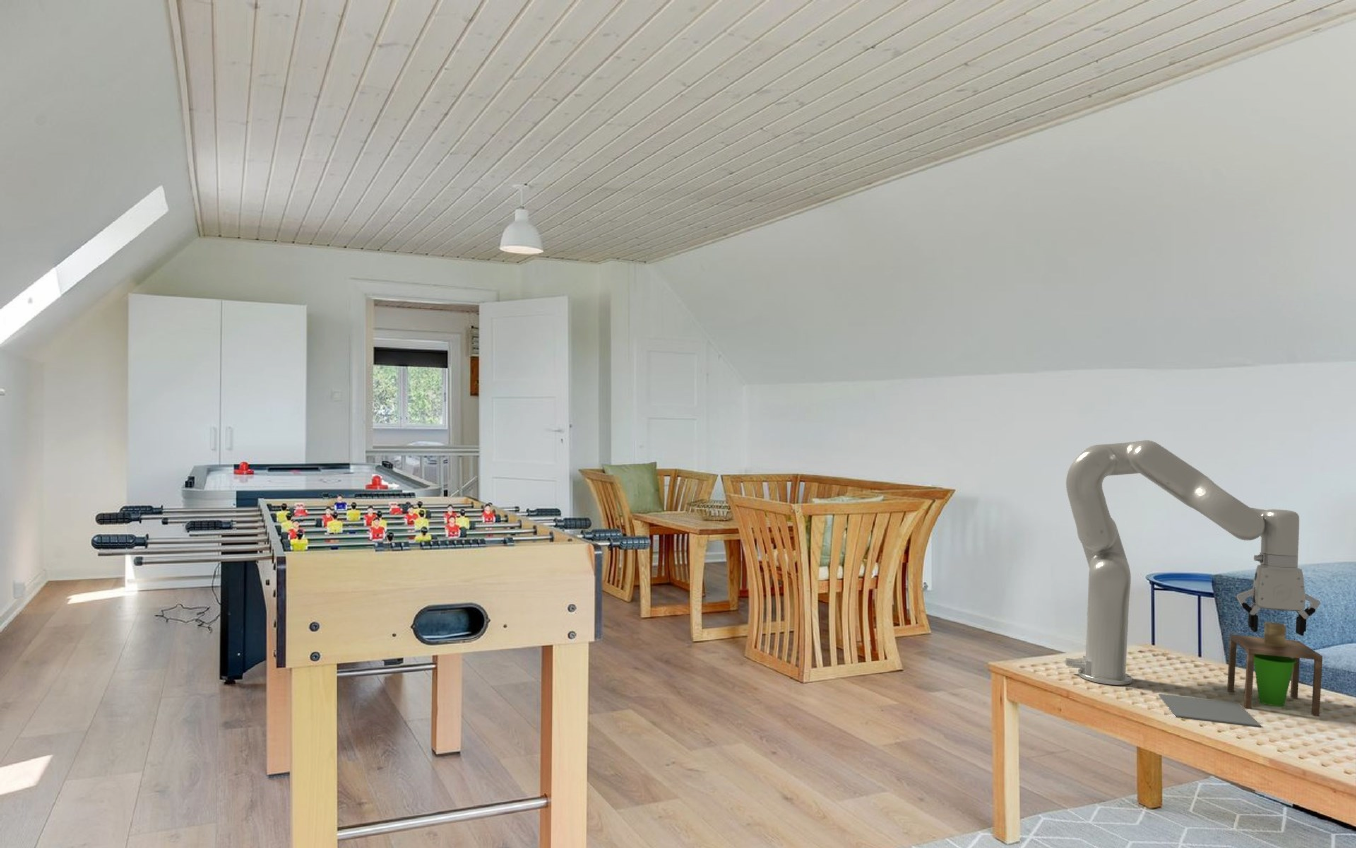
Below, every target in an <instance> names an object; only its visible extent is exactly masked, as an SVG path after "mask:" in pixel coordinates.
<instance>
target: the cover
mask: <svg viewBox="0 0 1356 848" xmlns="http://www.w3.org/2000/svg"><path fill="white" fill-rule="evenodd" d="M1286 630H1287V626H1286V625H1285V624H1283V623H1280V622H1270V621H1265V622H1264V636H1263V637H1260V636H1250V635H1248V636H1247V635H1242V634H1241V635H1238V634H1229V648H1228V649H1229V650H1228V666H1227V668H1228V669H1227V684H1226V689H1227V692H1230V693H1234V692H1235V682H1236V681H1235V679H1236V677H1235V676H1236V661H1237V660H1236V659H1237V646H1239V647H1240V648H1241V649H1243V650H1244V651H1245V652H1246V665H1245V666H1246V667H1245V683H1244V684H1245V685H1244V686H1245V687H1244V703H1243V705H1244V706H1243V708H1244V709H1252V707H1253V689H1254V688H1253V684H1254V671H1255V666H1254V654H1263V655H1273V656H1284V657H1291V658H1293V659H1295V660H1296V663H1294V667H1293V671H1292V675H1291V679H1290V698H1291V699H1295V700H1298V699H1299V684H1300V683H1299V681H1300V680H1299V679H1300V661H1301V659H1304V660H1305V659H1306V660H1314V662H1313V675H1312V676H1313V677H1312V678H1313V679H1312V699H1311V715H1312V716H1313V717H1320V714H1321V712H1320V711H1321V694H1322V693H1321V692H1322V674H1323V672H1322V671H1323V657H1324V656H1323V655H1322V654H1320V653H1318V652H1317V651H1316V650H1314V649H1312V648H1310V647H1309V646H1307V645H1306V644H1304V643H1303V642H1301V641H1300V640H1292V639H1286V632H1287V631H1286Z"/></svg>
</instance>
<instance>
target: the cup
mask: <svg viewBox="0 0 1356 848" xmlns="http://www.w3.org/2000/svg"><path fill="white" fill-rule="evenodd" d="M1294 663H1296V660H1295V659H1293V658H1292V657H1284V656H1273V655H1263V654H1254V674H1255V681H1256V689H1257V695H1258V697H1257V699H1258V700H1259V702H1260V703H1262V704H1264V705H1267V706H1268V705H1269V706H1273V707H1274V706H1275V707H1282V706H1284V704H1285V702H1286V699H1287V695H1288V691H1289V687H1290V684H1291V675H1292V671H1293V667H1294Z"/></svg>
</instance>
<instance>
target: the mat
mask: <svg viewBox="0 0 1356 848" xmlns="http://www.w3.org/2000/svg"><path fill="white" fill-rule="evenodd" d="M1158 697H1159V698H1160V699H1161V700H1162V702H1163V703H1164V704H1165V705H1166V707H1167V708H1168V707H1169V708H1168V710H1169V711H1170V710H1171V711H1170V713H1172V715H1173V714H1174V715H1175V716H1176V717H1175V716H1174V715H1173V716H1174V717H1175V718H1179V717H1183V718H1182V719H1189V720H1197V721H1198V720H1199V721H1206V722H1214V723H1223V724H1231V725H1239V726H1247V727H1255V728H1261V727H1262V725H1261V724H1260V723H1259V722H1258V721H1257V719H1255V718H1254V717H1253V716H1252V715H1251V714H1250V713H1249V712H1248V711H1247V710H1246V708H1245V707H1244V706H1242V705H1241V704H1240V703H1239V702H1236V701H1229V700H1228V701H1225V700H1216V699H1209V698H1200V697H1199V698H1198V697H1193V696H1192V697H1191V696H1182V695H1174V694H1165V693H1164V694H1163V693H1158Z"/></svg>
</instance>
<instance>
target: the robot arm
mask: <svg viewBox="0 0 1356 848" xmlns="http://www.w3.org/2000/svg"><path fill="white" fill-rule="evenodd" d="M1135 474H1136V475H1137V474H1140V475H1142V476H1144V477H1145V478H1147V480H1149V481H1151V482H1152V483H1154V484H1155V485H1157V486H1158V487H1160V489H1162V490H1164V491H1166V492H1167V493H1169V495H1171V496H1173V497H1174V498H1176V499H1177V500H1178V501H1180V502H1181V503H1183V504H1184V505H1186V506H1188V507H1190V509H1191V508H1192V509H1194V511H1196V512H1199V513H1200V514H1201V515H1203V516H1205V517H1206V518H1207V519H1208V520H1210V521H1212V522H1213V523H1215V524H1216V525H1217V526H1219V527H1221V528H1222V529H1224V531H1226V532H1227V533H1229V534H1230V535H1232V536H1233V537H1235V538H1236V539H1239V540H1241V541H1254V540H1256V539H1259V537H1260V552H1259V553H1258V554H1257V555H1256V554H1254V556H1253V560H1254V561H1255V562H1259V564H1258V565H1257V566H1256V569H1255V572H1254V573H1255V574H1254V578H1253V584H1252V588H1251V589H1248V590H1245V591H1242V592H1240V593H1237V594H1236V599H1237V600H1238V603H1239V604H1240V606H1241V608H1243V609H1244V610H1245V611H1246V613H1248V620H1247V622H1248V623H1247V626H1248V628H1250V630H1251V632H1254V633H1257V632H1258V630H1259V628H1258V627H1259V616H1258V615H1257V613H1258V612H1259V611H1260V610H1261V609H1266V610H1275V611H1276V610H1278V611H1287V612H1290V611H1291V612H1296V614H1297V616H1296V618H1295V633H1296V634H1298V635H1299V636H1301V637H1302V636H1303V637H1304V635H1305V633H1306V632H1307V620H1308V619H1309V618H1310V617H1311V616H1312V615H1313V614H1315V613H1316V610H1317V609H1318V608H1319V606H1320V604H1321V601H1320V600H1319V599H1317V598H1316V597H1313V596H1312V595H1309V594H1307V593H1306V591H1305V589H1306V588H1305V581H1304V580H1305V579H1304V574H1303V569H1302V568H1298V567H1299V545H1300V544H1299V540H1300V515H1299V513H1297V512H1296V511H1293V510H1287V509H1276V508H1275V509H1273V508H1272V509H1261V508H1254V507H1249V506H1248V505H1247V504H1245V503H1244V502H1242V501H1241V500H1239V499H1237V498H1236V497H1235V496H1233V495H1232V494H1230V493H1229V492H1227V490H1224V489H1223V488H1222V487H1220V486H1219V485H1217V484H1216V483H1215V482H1214V481H1213V480H1212V479H1211V478H1209V477H1208V476H1207V475H1205V474H1204V473H1203V472H1201V471H1200V470H1197V468H1195V467H1193V466H1192V465H1190V464H1189V463H1188V462H1186V461H1184V460H1183V459H1181V458H1180V457H1179V456H1177V455H1175V454H1174V453H1173V452H1172V451H1169V450H1168V449H1167V448H1165V447H1164V446H1162V445H1161V444H1159V443H1157V442H1155V441H1152V440H1146V439H1144V440H1137V441H1130V442H1117V443H1105V444H1095V445H1091V446H1089V447H1087V448H1086V449H1085V450H1084V451H1082V452H1081V453H1080V454H1079V455H1078V456H1077V457H1076V458H1075V459H1074V460H1073V461H1072V463H1071V465H1070V467H1069V469H1068V471H1067V473H1066V479H1065V480H1066V481H1065V484H1066V485H1065V486H1066V487H1065V488H1066V493H1067V496H1068V501H1069V504H1070V507H1071V508H1070V509H1071V513H1072V516H1073V519H1074V522H1075V525H1076V532H1077V537H1078V539H1079V541H1080V543H1081V545H1082V548H1083V551H1084V555H1085V558H1086V561H1087V564H1088V568H1089V571H1088V595H1087V596H1088V597H1087V613H1086V614H1087V615H1086V616H1087V618H1086V622H1087V623H1086V639H1085V640H1086V643H1085V655H1082V658H1078V659H1074V658H1065V666H1067V667H1071V668H1073V669H1074V668H1075V669H1078V672H1077V674H1078V676H1079V677H1080V678H1082V679H1085V680H1087V681H1090V682H1094V683H1098V684H1102V685H1103V684H1104V685H1112V686H1113V685H1114V686H1126V685H1130V684H1131V683H1133V677H1132V676H1131V675H1130V674H1128V673H1127V671H1126V670H1127V655H1128V654H1127V653H1128V634H1129V633H1128V631H1129V630H1128V628H1129V607H1130V606H1129V605H1130V592H1131V580H1132V579H1131V578H1132V577H1131V575H1132V574H1131V569H1130V565H1129V562H1128V558H1127V556H1126V553H1125V550H1124V546H1123V543H1122V539H1121V536H1120V533H1119V530H1118V527H1117V524H1116V522H1115V520H1114V519H1113V518H1112V517H1111V514H1110V511H1109V507H1108V504H1107V502H1106V501H1107V500H1106V497H1105V494H1104V491H1103V489H1104V488H1103V482H1104V479H1105V478H1106V477H1108V476H1121V475H1135ZM1249 597H1251V601H1252V604H1251V605H1249V604H1248V603H1247V601H1246V599H1248V598H1249ZM1306 601H1307V602H1309V603H1310V604H1309V606H1308V607H1306ZM1305 607H1306V608H1305Z"/></svg>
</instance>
